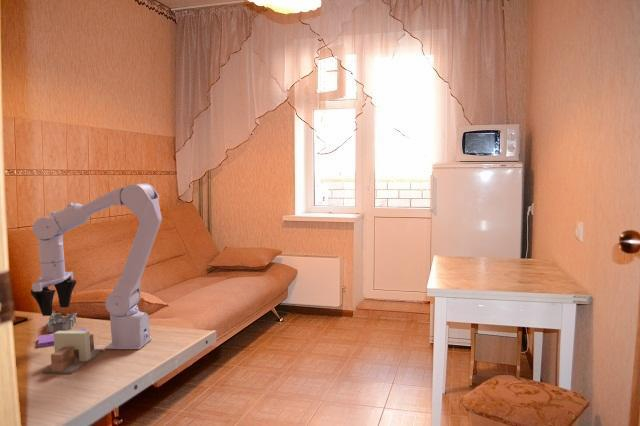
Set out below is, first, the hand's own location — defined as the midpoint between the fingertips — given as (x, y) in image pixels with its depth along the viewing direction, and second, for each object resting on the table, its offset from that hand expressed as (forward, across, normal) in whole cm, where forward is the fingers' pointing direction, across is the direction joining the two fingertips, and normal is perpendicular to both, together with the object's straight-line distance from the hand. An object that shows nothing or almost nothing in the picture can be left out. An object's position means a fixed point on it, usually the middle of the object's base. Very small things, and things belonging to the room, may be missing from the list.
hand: (56, 311), depth 131 cm
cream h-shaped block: (+9, +10, +10) cm, 17 cm away
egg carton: (+10, -17, -10) cm, 22 cm away
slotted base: (+10, +10, +10) cm, 18 cm away
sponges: (+11, -6, -2) cm, 12 cm away
